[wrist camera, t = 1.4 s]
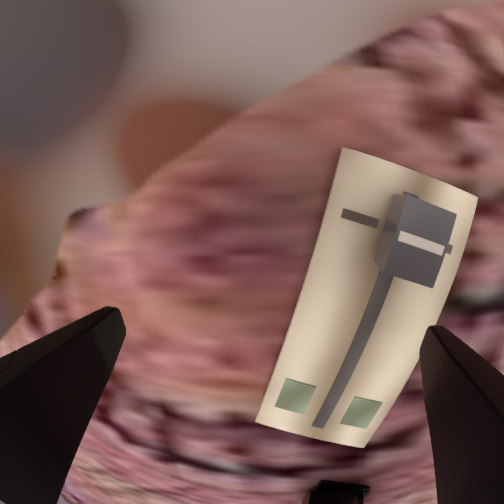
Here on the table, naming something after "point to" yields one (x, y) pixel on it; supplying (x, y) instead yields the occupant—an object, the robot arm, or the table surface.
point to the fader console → (359, 308)
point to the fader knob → (414, 240)
